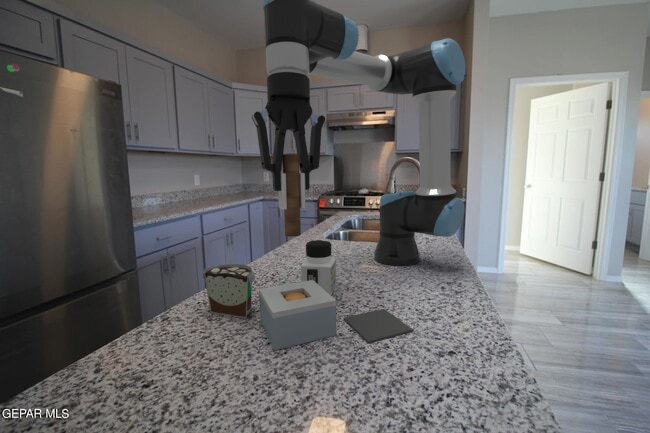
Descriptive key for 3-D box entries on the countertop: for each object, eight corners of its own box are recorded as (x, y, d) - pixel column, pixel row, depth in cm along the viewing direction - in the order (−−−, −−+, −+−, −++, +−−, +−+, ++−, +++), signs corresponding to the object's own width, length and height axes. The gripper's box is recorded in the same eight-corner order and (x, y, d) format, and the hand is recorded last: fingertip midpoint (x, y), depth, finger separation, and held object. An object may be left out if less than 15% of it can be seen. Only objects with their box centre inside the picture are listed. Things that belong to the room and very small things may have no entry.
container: (331, 296, 77) (330, 245, 75) (301, 294, 79) (299, 244, 77) (336, 284, 85) (335, 238, 83) (308, 283, 86) (307, 237, 85)
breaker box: (313, 309, 70) (312, 279, 69) (336, 335, 59) (336, 300, 58) (260, 320, 65) (258, 288, 64) (274, 350, 55) (272, 312, 53)
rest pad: (383, 310, 69) (383, 308, 69) (413, 331, 60) (413, 329, 60) (343, 319, 65) (343, 317, 65) (368, 343, 56) (368, 341, 56)
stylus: (297, 232, 61) (295, 155, 59) (302, 235, 59) (301, 154, 56) (283, 234, 60) (280, 155, 58) (287, 237, 57) (284, 154, 55)
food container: (267, 307, 72) (265, 265, 70) (252, 319, 66) (250, 274, 65) (222, 300, 76) (219, 261, 74) (205, 311, 70) (201, 269, 69)
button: (302, 305, 64) (301, 291, 64) (308, 313, 61) (308, 298, 60) (283, 309, 63) (282, 294, 62) (289, 317, 59) (288, 302, 59)
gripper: (321, 85, 62) (323, 203, 65) (238, 77, 55) (245, 208, 59) (338, 75, 55) (339, 207, 58) (245, 64, 49) (252, 213, 52)
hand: (292, 207), depth 59 cm, fingers closed on stylus, 3 cm apart
